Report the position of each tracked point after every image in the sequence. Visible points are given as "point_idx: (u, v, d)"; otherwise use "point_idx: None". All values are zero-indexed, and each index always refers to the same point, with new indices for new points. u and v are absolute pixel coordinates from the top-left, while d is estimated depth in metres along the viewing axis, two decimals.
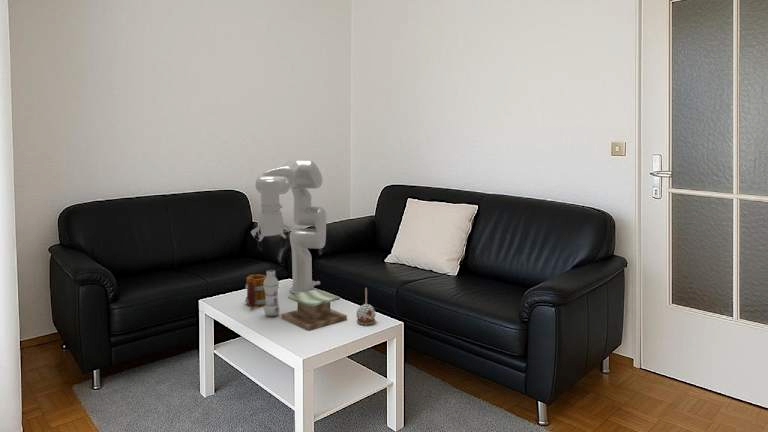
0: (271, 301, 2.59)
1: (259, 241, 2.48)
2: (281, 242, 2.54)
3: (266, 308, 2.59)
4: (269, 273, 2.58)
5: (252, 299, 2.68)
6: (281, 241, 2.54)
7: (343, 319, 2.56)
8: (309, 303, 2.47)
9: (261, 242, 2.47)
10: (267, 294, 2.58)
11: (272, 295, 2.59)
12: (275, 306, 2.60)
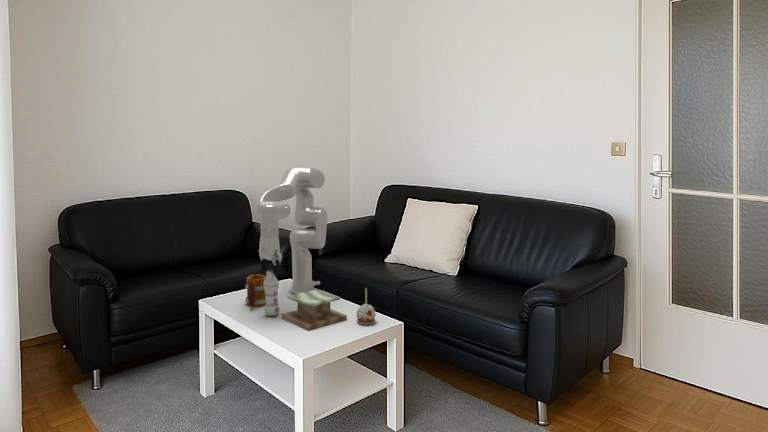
0: (271, 301, 2.59)
1: (279, 265, 2.55)
2: (265, 265, 2.62)
3: (266, 308, 2.59)
4: (269, 273, 2.58)
5: (252, 299, 2.68)
6: (265, 264, 2.62)
7: (343, 319, 2.56)
8: (309, 303, 2.47)
9: None
10: (267, 294, 2.58)
11: (272, 295, 2.59)
12: (275, 306, 2.60)
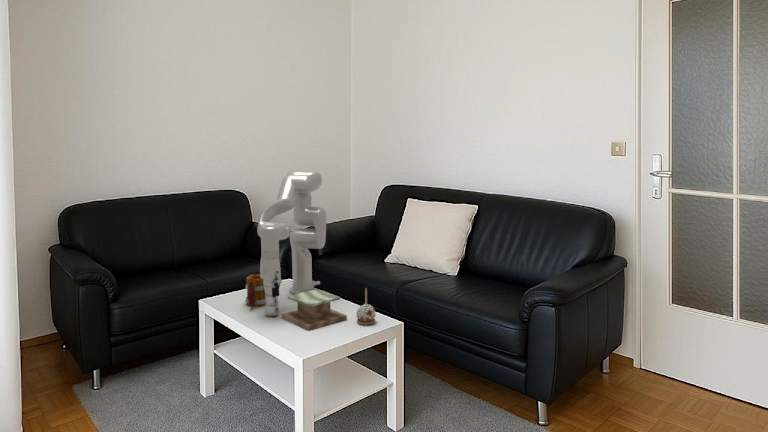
0: (271, 301, 2.59)
1: (278, 287, 2.58)
2: None
3: (266, 308, 2.59)
4: None
5: (252, 299, 2.68)
6: None
7: (343, 319, 2.56)
8: (309, 303, 2.47)
9: None
10: (267, 294, 2.58)
11: None
12: (275, 306, 2.60)
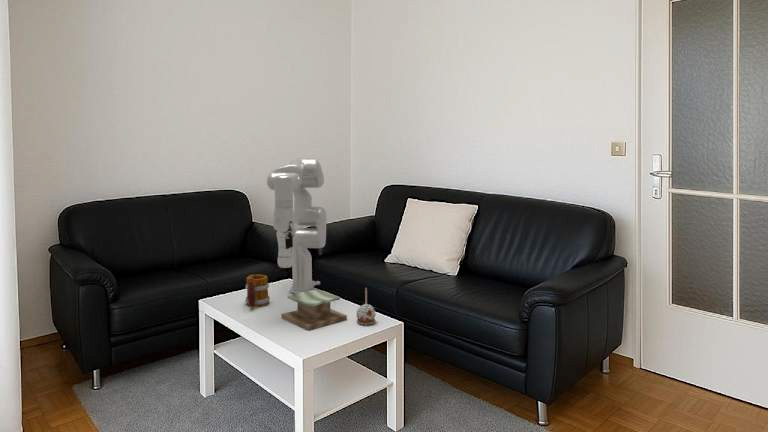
0: (285, 252, 2.54)
1: (291, 238, 2.52)
2: None
3: (279, 260, 2.54)
4: None
5: (252, 299, 2.68)
6: None
7: (343, 319, 2.56)
8: (309, 303, 2.47)
9: (292, 238, 2.53)
10: (280, 245, 2.53)
11: None
12: (289, 257, 2.55)
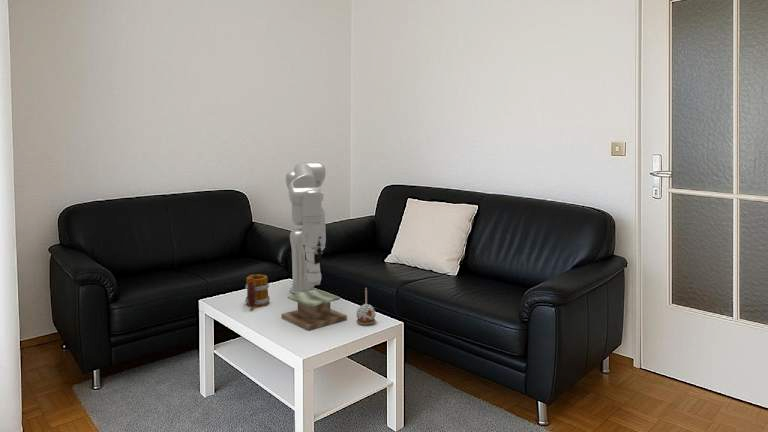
0: (313, 268, 2.52)
1: (320, 253, 2.51)
2: None
3: (308, 275, 2.52)
4: None
5: (252, 299, 2.68)
6: None
7: (343, 319, 2.56)
8: (309, 303, 2.47)
9: (321, 254, 2.52)
10: (309, 260, 2.51)
11: (314, 262, 2.51)
12: (317, 273, 2.53)
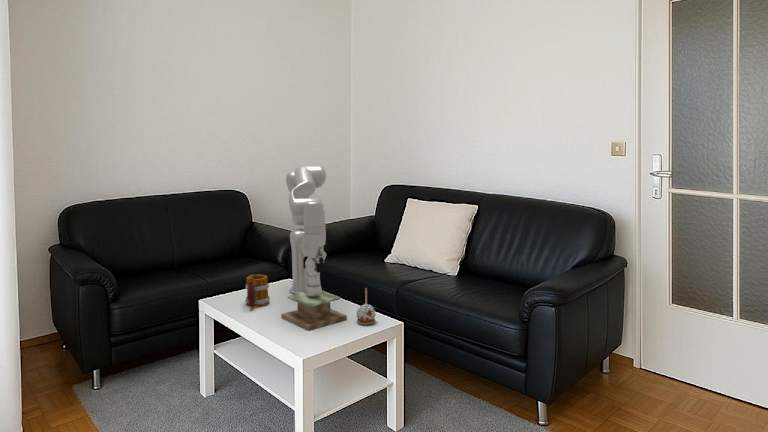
0: (314, 282, 2.53)
1: (322, 262, 2.50)
2: None
3: (308, 289, 2.53)
4: None
5: (252, 299, 2.68)
6: None
7: (343, 319, 2.56)
8: (309, 303, 2.47)
9: (323, 263, 2.51)
10: (309, 274, 2.52)
11: (315, 276, 2.52)
12: (318, 286, 2.54)
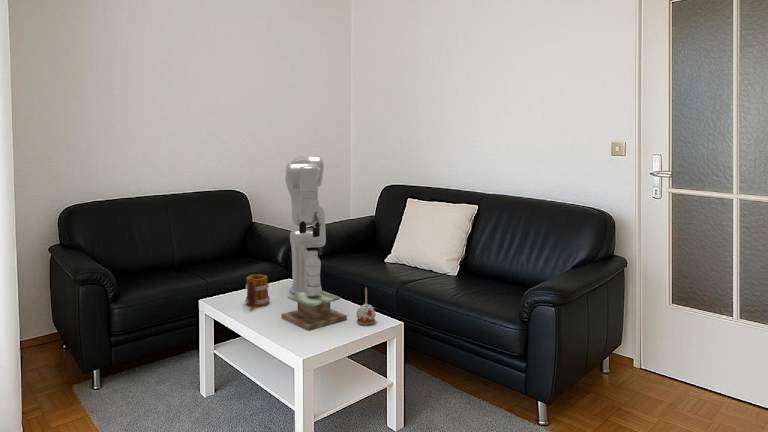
0: (314, 282, 2.53)
1: (318, 227, 2.51)
2: (303, 228, 2.59)
3: (308, 289, 2.53)
4: (312, 253, 2.51)
5: (252, 299, 2.68)
6: (303, 227, 2.59)
7: (343, 319, 2.56)
8: (309, 303, 2.47)
9: (319, 227, 2.52)
10: (309, 274, 2.52)
11: (315, 276, 2.53)
12: (318, 286, 2.54)
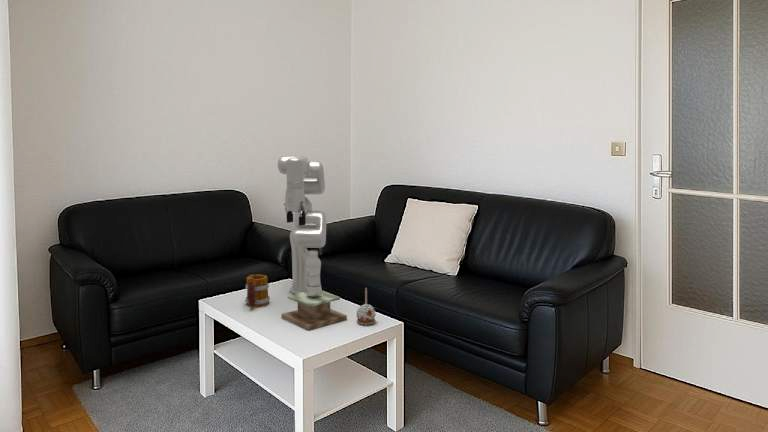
0: (314, 282, 2.53)
1: (304, 216, 2.65)
2: (290, 217, 2.73)
3: (308, 289, 2.53)
4: (312, 253, 2.51)
5: (252, 299, 2.68)
6: (290, 216, 2.73)
7: (343, 319, 2.56)
8: (309, 303, 2.47)
9: (305, 216, 2.66)
10: (310, 274, 2.52)
11: (315, 276, 2.53)
12: (318, 287, 2.54)
